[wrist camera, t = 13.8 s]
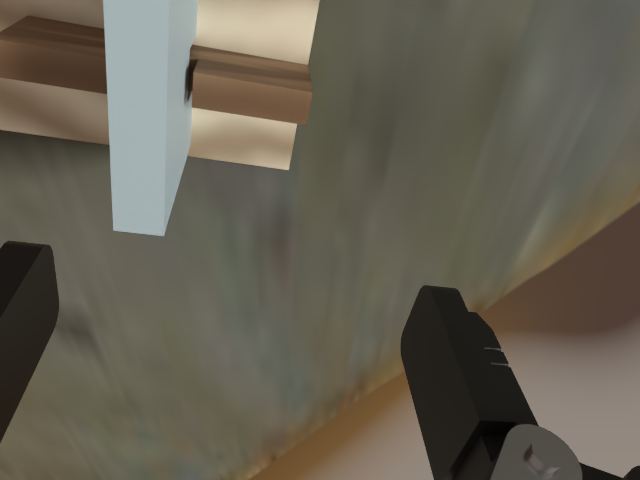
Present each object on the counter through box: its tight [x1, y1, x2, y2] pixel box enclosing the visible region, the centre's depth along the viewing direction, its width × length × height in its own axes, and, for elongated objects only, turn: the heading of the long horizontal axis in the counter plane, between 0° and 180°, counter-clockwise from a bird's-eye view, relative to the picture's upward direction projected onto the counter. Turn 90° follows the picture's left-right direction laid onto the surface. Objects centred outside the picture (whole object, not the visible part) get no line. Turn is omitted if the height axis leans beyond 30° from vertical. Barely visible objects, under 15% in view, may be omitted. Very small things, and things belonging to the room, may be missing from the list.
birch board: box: [0, 0, 320, 170], centre depth 38 cm, size 16×32×1 cm, turn 79°
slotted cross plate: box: [103, 0, 198, 236], centre depth 33 cm, size 14×3×13 cm, turn 169°
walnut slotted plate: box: [0, 15, 313, 125], centre depth 36 cm, size 2×20×6 cm, turn 78°
